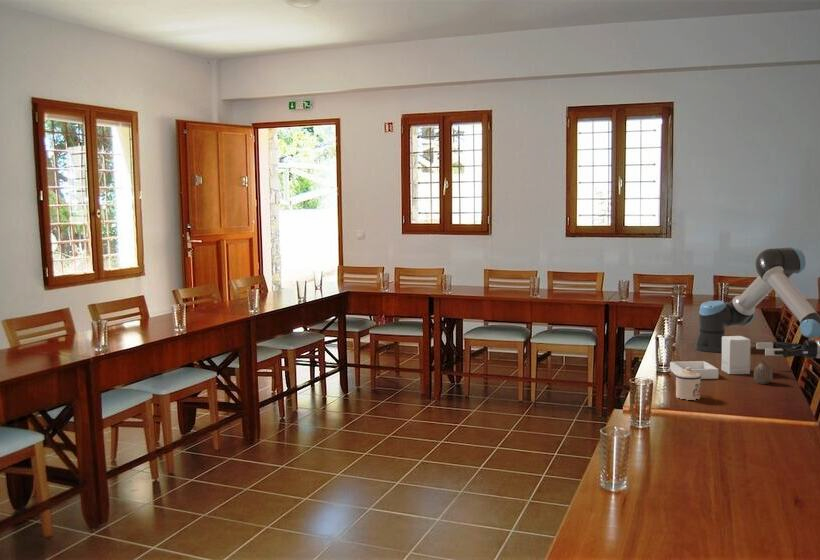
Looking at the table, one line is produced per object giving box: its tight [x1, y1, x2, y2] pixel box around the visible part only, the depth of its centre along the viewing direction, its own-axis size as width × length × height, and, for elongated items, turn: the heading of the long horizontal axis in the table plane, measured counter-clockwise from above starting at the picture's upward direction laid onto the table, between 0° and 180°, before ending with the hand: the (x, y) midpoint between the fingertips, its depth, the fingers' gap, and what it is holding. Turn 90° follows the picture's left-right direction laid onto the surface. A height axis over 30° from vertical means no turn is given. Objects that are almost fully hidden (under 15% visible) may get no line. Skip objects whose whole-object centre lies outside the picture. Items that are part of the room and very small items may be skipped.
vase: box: [753, 360, 773, 385], centre depth 298 cm, size 7×7×9 cm
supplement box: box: [720, 335, 752, 375], centre depth 317 cm, size 9×9×15 cm
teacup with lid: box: [675, 367, 702, 401], centre depth 281 cm, size 12×9×12 cm
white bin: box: [669, 360, 719, 380], centre depth 315 cm, size 15×15×4 cm
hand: (760, 348), depth 314 cm, fingers open, 13 cm apart
